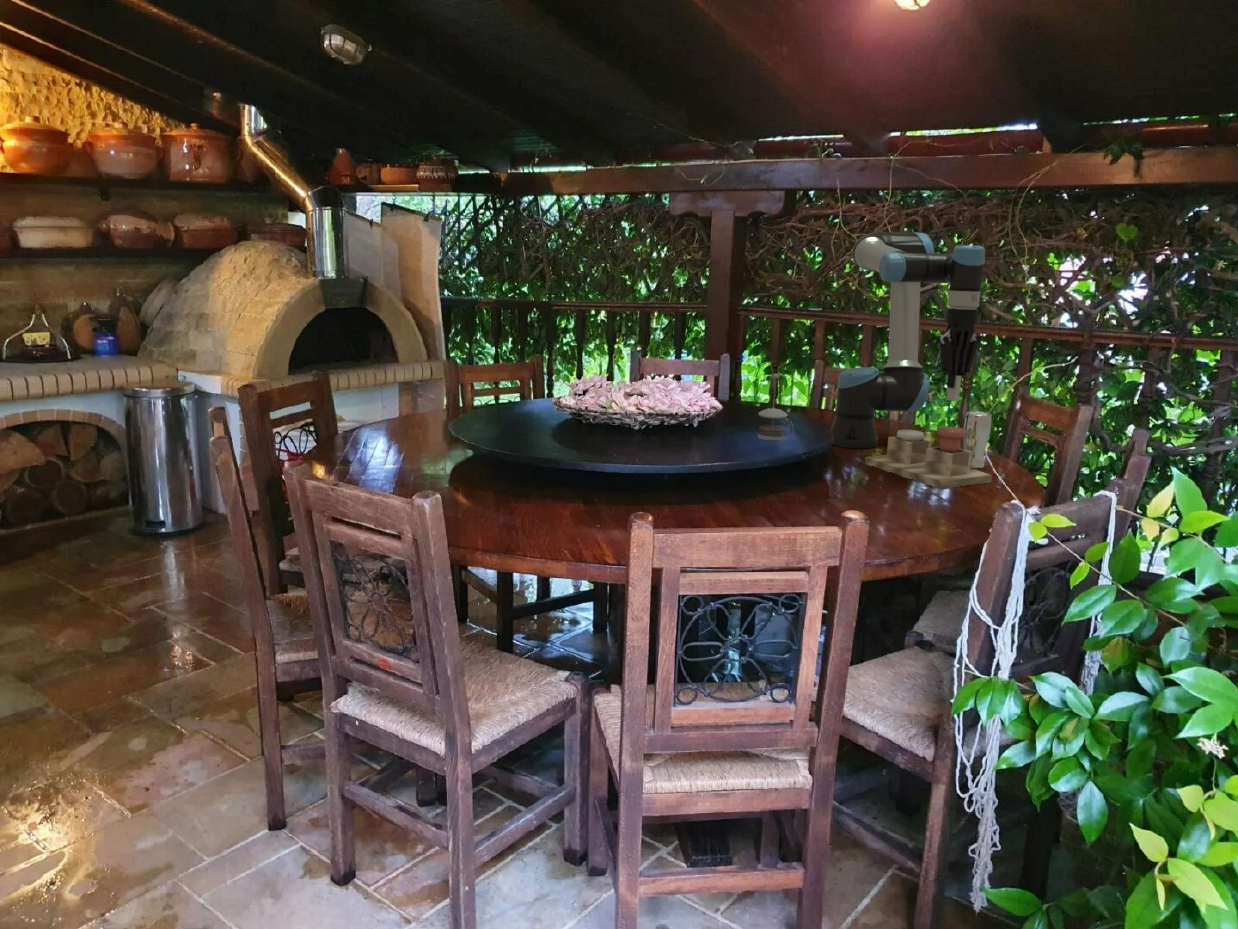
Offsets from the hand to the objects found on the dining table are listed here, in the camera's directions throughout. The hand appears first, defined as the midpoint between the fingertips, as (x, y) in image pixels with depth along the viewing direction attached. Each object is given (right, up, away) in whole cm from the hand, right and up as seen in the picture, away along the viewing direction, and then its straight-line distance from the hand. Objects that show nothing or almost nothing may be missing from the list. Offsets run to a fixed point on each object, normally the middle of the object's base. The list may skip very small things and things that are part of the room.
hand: (952, 400), depth 228 cm
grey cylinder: (-6, -15, +16) cm, 23 cm away
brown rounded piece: (0, -14, +3) cm, 15 cm away
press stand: (-3, -19, +11) cm, 22 cm away
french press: (-43, -16, +19) cm, 50 cm away
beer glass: (+13, -17, +20) cm, 30 cm away
